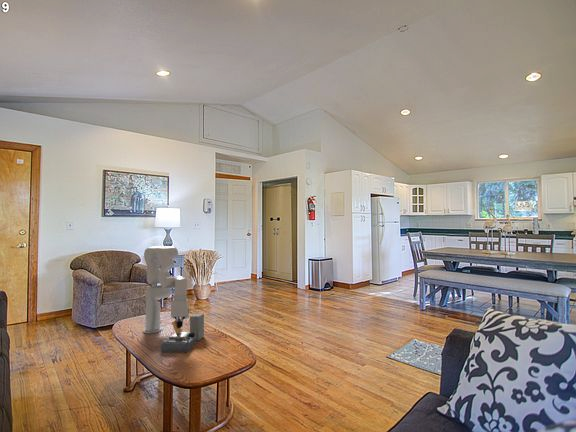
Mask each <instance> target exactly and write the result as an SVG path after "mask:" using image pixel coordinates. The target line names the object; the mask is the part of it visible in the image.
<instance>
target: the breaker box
mask: <svg viewBox="0 0 576 432" xmlns="http://www.w3.org/2000/svg"><path fill="white" fill-rule="evenodd" d="M196 343H197V341H196V333H192V332H190V331H182V332H181V333H180V334H179V335H176V332H175V331H172V332H171V333H170V335H169V336H168V337H167V338H163V340H162V341H161V343H160V353H175V354H176V353H177V354H178V353H179V354H183V353H184V354H188V353H189V352H190V351H191V349H192V348H193V347H194V345H196Z"/></svg>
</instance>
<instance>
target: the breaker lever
mask: <svg viewBox="0 0 576 432" xmlns="http://www.w3.org/2000/svg"><path fill="white" fill-rule="evenodd" d="M171 324H172V327H173V329H174V332H176V335H179V334H180V333H181V332H183V330H182V327H181V328H178V326H177V321H176V319H175V320H173V321H172V322H171Z"/></svg>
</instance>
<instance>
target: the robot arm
mask: <svg viewBox="0 0 576 432" xmlns="http://www.w3.org/2000/svg"><path fill="white" fill-rule="evenodd" d="M143 253H144V254H143V257H144V261H145V265H146V282H147V283H148V284H149V285H151V286H149V287H146V289H145V290H144V296H145V322H144V323H145V325H144V326H145V327H144V328H143V329H142V333H143V334H157V333H159V332H161V331H162V330H163V327H162V326H161V324H162V320H161V303H160V302H159V301H158V300H159V299H160V300H161V299H165V298H169V297H170V296H171V293H172V289H173V291H174V292H173V295H172V296H171V298H172V302H171V308H170V317H171V318H172V319H175V320H176V321H177V326H178V328H181V329H182V328H183V324H184V320H185V319H188V318H190V315H189V314H190V305H189V299H188V296H187V295H188V279H187V277H184V276H181V275H173V276H171V274H170V270H172V269H173V268H174V267H175V261H174V259H177V258H178V256H179V251H178V248H176V247H175V246H168V245H167V246H166V245H165V246H149V247H146V249H145V250H144V252H143ZM157 284H159V285H157ZM152 285H153V286H152Z"/></svg>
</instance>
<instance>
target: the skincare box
mask: <svg viewBox="0 0 576 432" xmlns="http://www.w3.org/2000/svg"><path fill="white" fill-rule="evenodd" d="M189 332H192V333H196V342H197V341H198V342H199V341H200V340H201V339H203V338H205V337H204V336H205V314H204V313H194V314H192V315H189Z"/></svg>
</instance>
